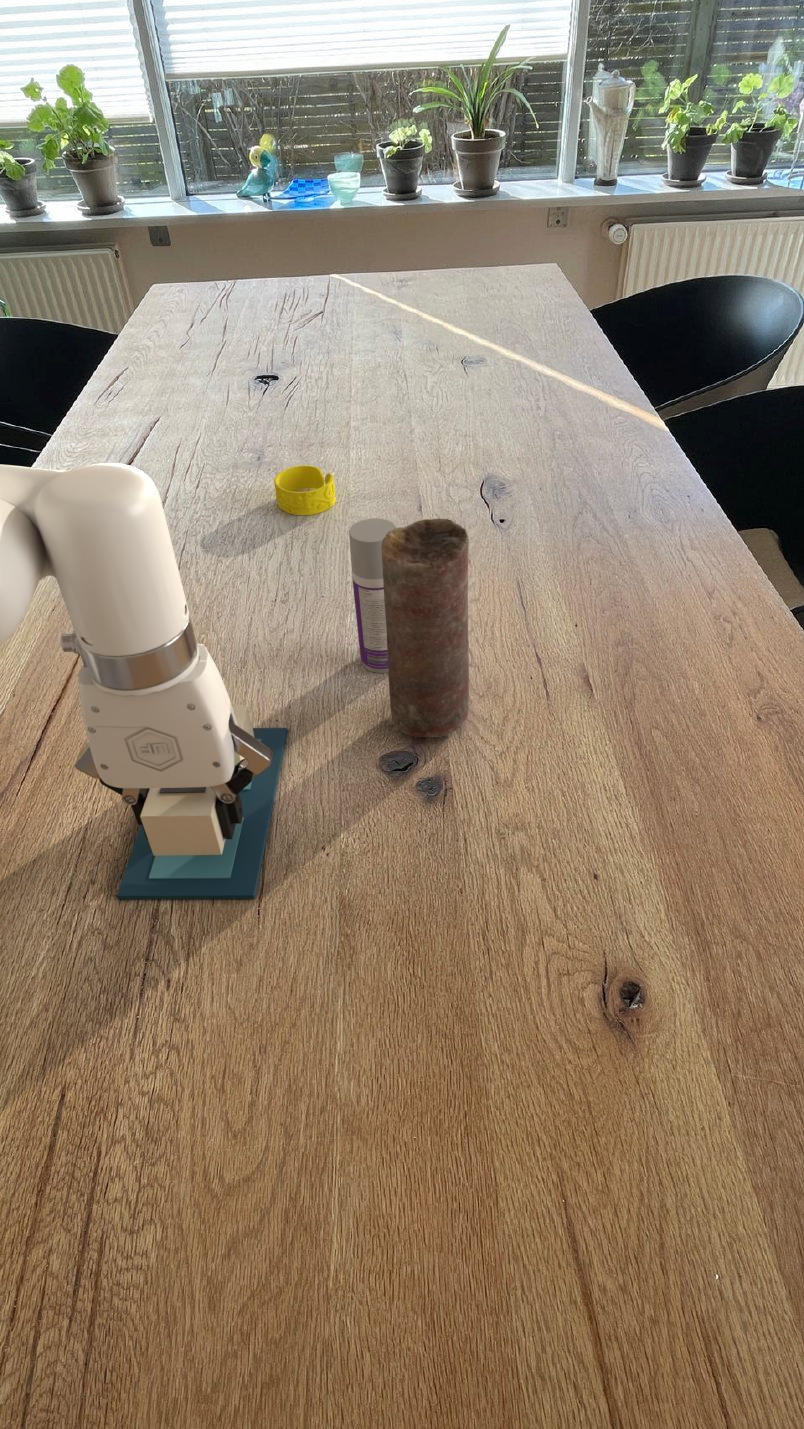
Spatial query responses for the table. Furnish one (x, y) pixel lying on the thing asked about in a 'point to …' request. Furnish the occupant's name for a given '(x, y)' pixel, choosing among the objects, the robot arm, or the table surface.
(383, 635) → the container
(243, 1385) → the table surface
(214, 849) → the tile
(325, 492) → the bracelet
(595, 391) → the table surface
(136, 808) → the robot arm
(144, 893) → the word mat
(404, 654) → the candle
